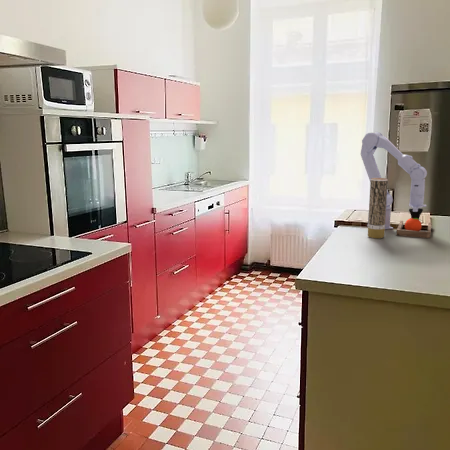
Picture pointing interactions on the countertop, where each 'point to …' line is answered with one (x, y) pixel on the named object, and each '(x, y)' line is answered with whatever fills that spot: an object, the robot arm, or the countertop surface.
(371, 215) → the paper tube
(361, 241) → the countertop surface
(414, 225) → the clementine
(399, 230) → the holder
